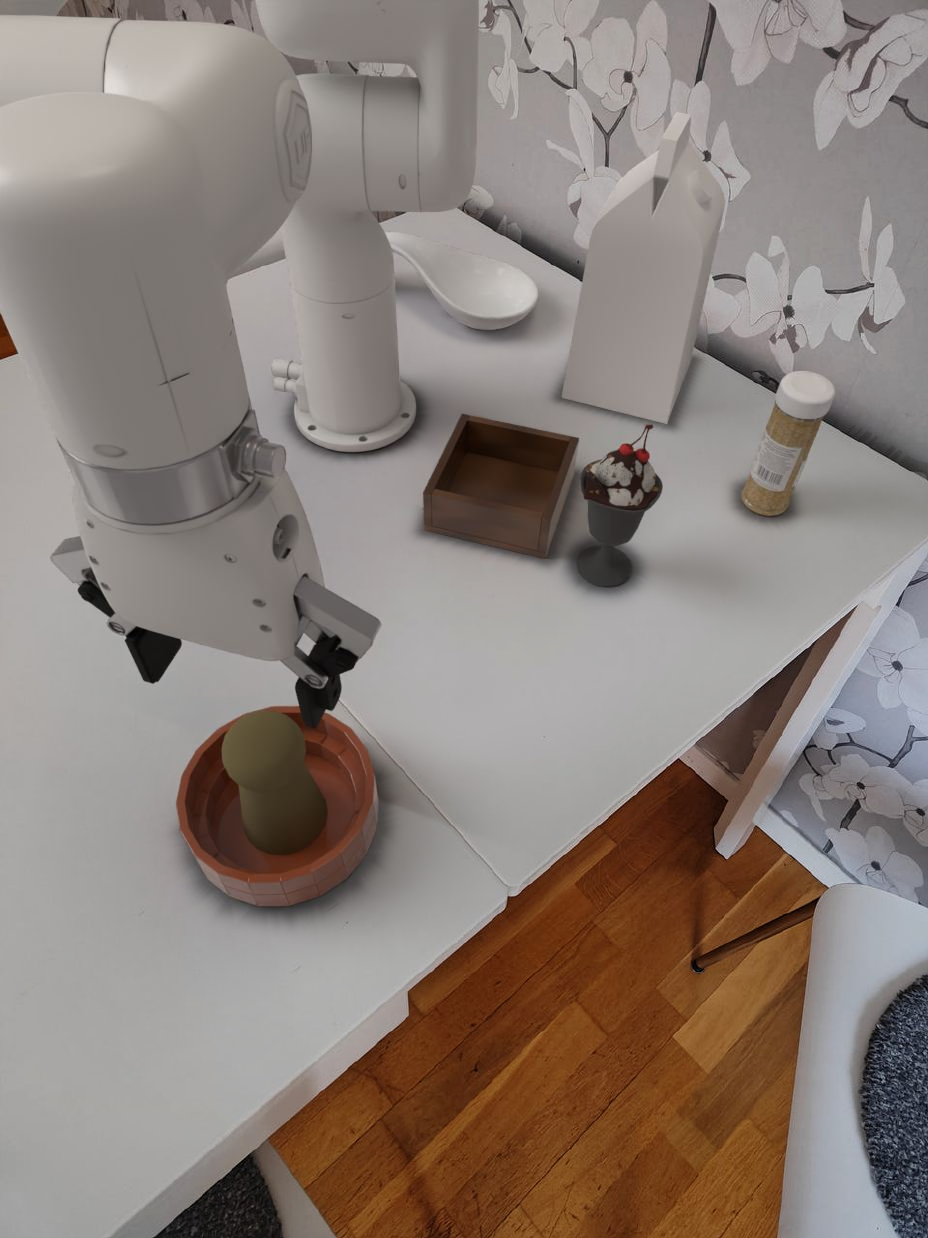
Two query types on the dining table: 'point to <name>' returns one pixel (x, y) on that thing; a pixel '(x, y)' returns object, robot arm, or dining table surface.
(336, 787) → the bowl
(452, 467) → the holder
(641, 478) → the sundae
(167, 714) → the dining table surface
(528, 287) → the spoon rest
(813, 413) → the sprinkles bottle
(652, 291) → the milk
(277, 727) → the olive brown knobbed cylinder
